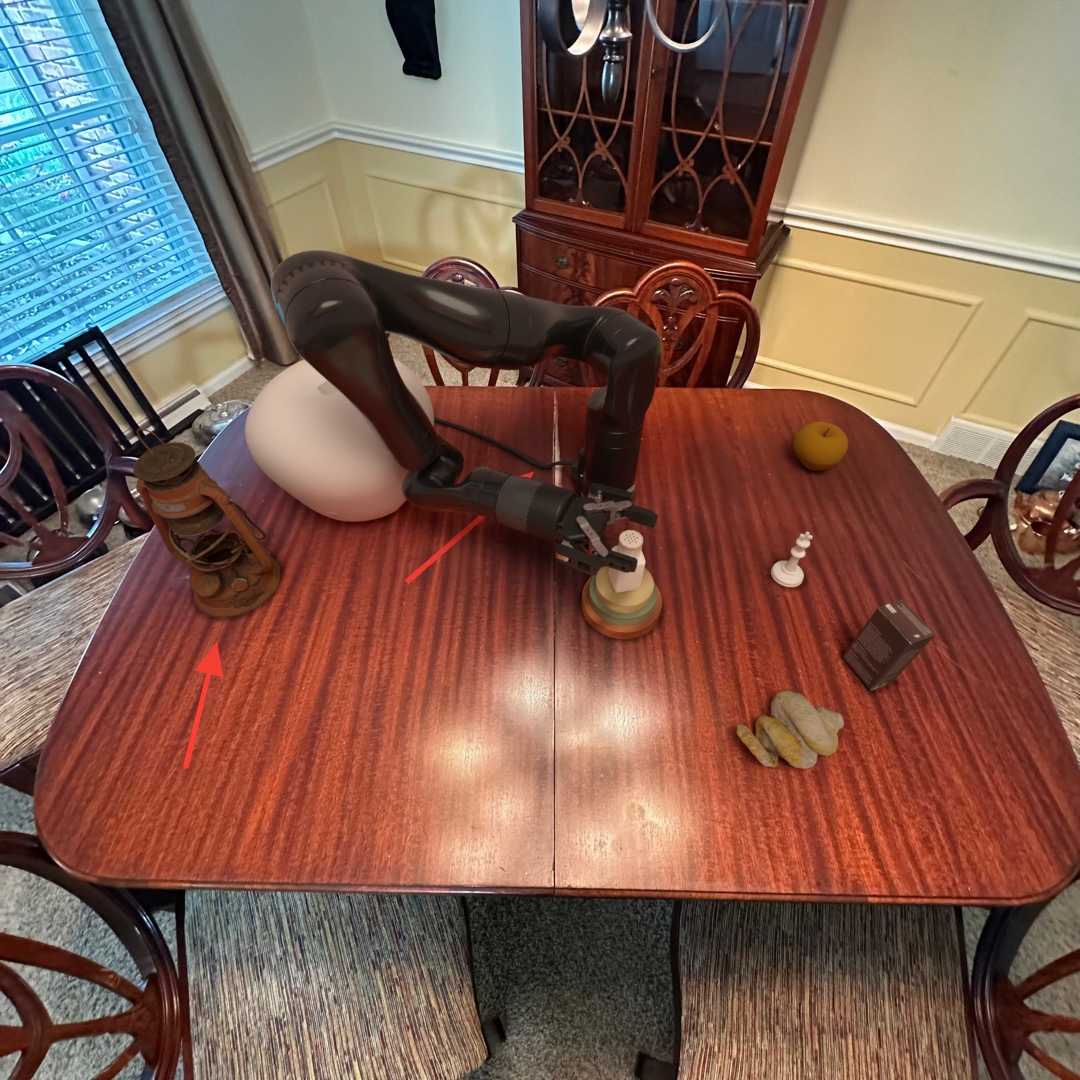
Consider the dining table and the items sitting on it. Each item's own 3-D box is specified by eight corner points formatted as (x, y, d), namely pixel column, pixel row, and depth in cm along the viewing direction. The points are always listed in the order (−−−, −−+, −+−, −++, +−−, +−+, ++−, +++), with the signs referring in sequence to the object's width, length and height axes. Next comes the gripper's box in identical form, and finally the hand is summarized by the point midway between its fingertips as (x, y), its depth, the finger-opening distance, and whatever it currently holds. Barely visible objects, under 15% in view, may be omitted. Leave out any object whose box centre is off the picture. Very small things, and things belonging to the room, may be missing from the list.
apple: (776, 464, 113) (791, 425, 106) (802, 443, 117) (818, 405, 110) (819, 488, 108) (838, 450, 102) (845, 466, 112) (864, 428, 106)
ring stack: (566, 614, 91) (567, 590, 86) (606, 563, 97) (609, 538, 93) (637, 653, 86) (642, 630, 82) (673, 597, 93) (680, 573, 88)
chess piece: (804, 589, 94) (827, 548, 86) (771, 584, 94) (791, 542, 87) (801, 565, 97) (823, 523, 89) (770, 560, 97) (789, 518, 90)
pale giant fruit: (373, 582, 95) (332, 464, 76) (251, 519, 103) (188, 400, 85) (472, 477, 111) (459, 358, 92) (359, 430, 119) (326, 314, 101)
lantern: (164, 609, 91) (41, 459, 69) (209, 545, 100) (113, 393, 77) (269, 625, 89) (177, 476, 67) (305, 558, 98) (235, 406, 75)
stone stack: (879, 748, 71) (756, 753, 70) (859, 774, 75) (743, 779, 74) (841, 679, 78) (730, 682, 77) (825, 706, 82) (719, 709, 81)
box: (895, 681, 83) (938, 634, 74) (868, 691, 82) (909, 645, 73) (865, 646, 87) (903, 597, 78) (839, 655, 86) (875, 607, 77)
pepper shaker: (632, 569, 89) (640, 525, 82) (641, 590, 86) (650, 547, 79) (606, 573, 88) (612, 529, 81) (614, 595, 86) (621, 552, 78)
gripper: (511, 524, 77) (632, 563, 72) (555, 456, 85) (666, 488, 81) (514, 560, 83) (626, 599, 78) (555, 493, 91) (658, 525, 87)
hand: (646, 542), depth 80 cm, fingers open, 8 cm apart
